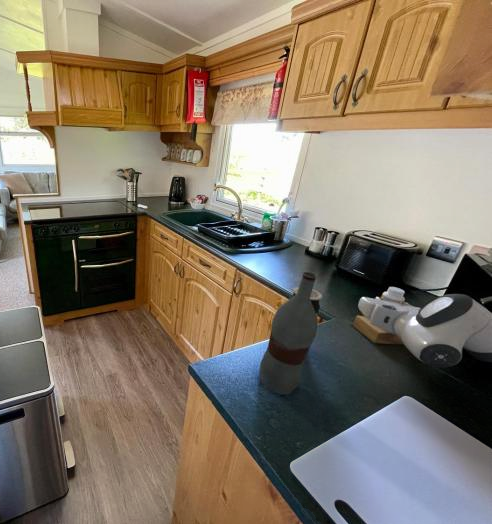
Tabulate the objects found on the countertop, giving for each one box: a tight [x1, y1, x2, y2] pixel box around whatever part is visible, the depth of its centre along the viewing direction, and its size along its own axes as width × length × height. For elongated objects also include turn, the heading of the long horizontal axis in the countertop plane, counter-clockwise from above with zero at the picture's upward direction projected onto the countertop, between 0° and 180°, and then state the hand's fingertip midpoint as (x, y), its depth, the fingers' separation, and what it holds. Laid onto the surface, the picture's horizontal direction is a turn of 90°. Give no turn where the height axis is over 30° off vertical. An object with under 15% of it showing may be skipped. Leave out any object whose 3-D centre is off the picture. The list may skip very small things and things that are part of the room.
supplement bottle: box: [380, 286, 406, 304], centre depth 93 cm, size 6×6×10 cm
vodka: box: [258, 271, 318, 396], centre depth 67 cm, size 9×9×30 cm
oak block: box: [352, 315, 404, 345], centre depth 96 cm, size 10×10×4 cm
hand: (390, 301), depth 93 cm, fingers closed on supplement bottle, 5 cm apart
